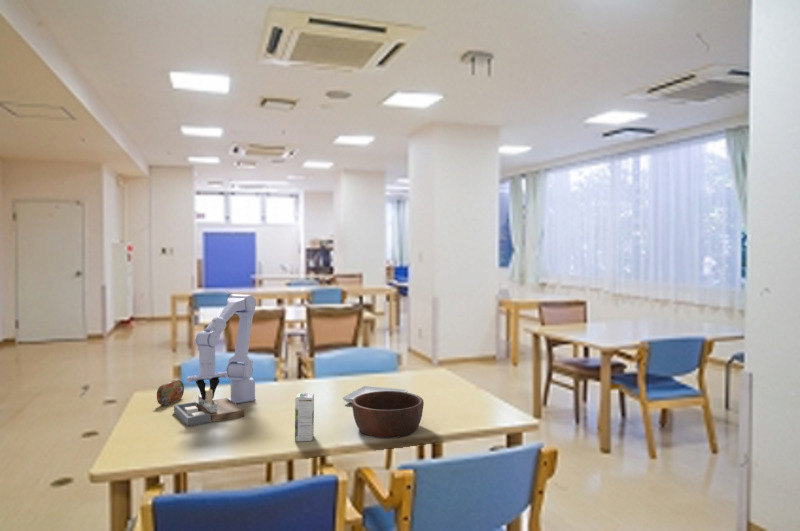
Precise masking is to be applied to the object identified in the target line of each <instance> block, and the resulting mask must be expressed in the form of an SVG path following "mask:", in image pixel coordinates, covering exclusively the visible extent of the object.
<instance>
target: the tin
mask: <svg viewBox="0 0 800 531" xmlns="http://www.w3.org/2000/svg"><path fill="white" fill-rule="evenodd" d="M184 385H185V384H184V383H183V381H181V380H180V379H177V380H175V379H174V380H171V381H169V382H166V383H164V384H161V385H160V386H159V387H158V388H157V391H156V401H157V403H158V404H159V405H160V406H169V405H168V404H170V405H172V404H174V403H176V402H178V401H180V400H181V399H182V398H183V396H184V393H185V387H184ZM179 399H180V400H179ZM177 400H178V401H177ZM175 401H176V402H175ZM173 402H174V403H173ZM171 403H172V404H171Z"/></svg>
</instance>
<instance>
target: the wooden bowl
mask: <svg viewBox="0 0 800 531" xmlns="http://www.w3.org/2000/svg"><path fill="white" fill-rule="evenodd" d="M424 404H425V403H424V399H423V398H422V397H421V396H420V395H417V394H414V393H412V392H408V391H407V392H399V391H378V392H370V393H365V394H362V395H359V396H357V397H355V398H354V399H353V401H352V403H351V406H352V414H353V418H354V422H355V424H356V426H357V429H358V430H359V431H360V432H361V433H362V434H365V435H367V436H370V437H372V438H373V437H375V438H379V439H380V438H381V439H391V438H392V439H395V438H401V437H406V436H409V435H411V434H413V433H414V432H415V431H416V430H417V429H418V427H419V425H420V423H421V421H422V417H423V412H424Z"/></svg>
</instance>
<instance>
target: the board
mask: <svg viewBox="0 0 800 531" xmlns="http://www.w3.org/2000/svg"><path fill="white" fill-rule="evenodd" d="M228 398H229V397H228ZM228 398H227V397H223V398H219V399H213V401H214V402H215V403H217V412H215V413H210V412H209V411H208V410H206V409H205V408H204V407H203V406H201V405H200V404H199V401H197V402H196V407H197V408H198V411H199V412H201V411H203V412H204V413H205V414H211V423H216V422H220V421H226V420H231V419H237V418H243V417H245V409H244V408H242V407H241V406H239V405H238V404H237V403H234V402H232V401H231V400H229V399H228Z"/></svg>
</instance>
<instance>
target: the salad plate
mask: <svg viewBox="0 0 800 531" xmlns="http://www.w3.org/2000/svg"><path fill="white" fill-rule="evenodd" d="M378 391H399V392H407V393H408V391H409V390H408V389H402V388H392V387H382V386H371V385H370V386H369V385H363V386H361V387H359V388H358V389H356V390H353V391H351V392H350V393H347V394H346V395H344V396H342V399H343V401H344V402H346V403H349V404H352V401H353V399H354V398H355V397H357V396H359V395H362V394H365V393H370V392H378Z"/></svg>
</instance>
